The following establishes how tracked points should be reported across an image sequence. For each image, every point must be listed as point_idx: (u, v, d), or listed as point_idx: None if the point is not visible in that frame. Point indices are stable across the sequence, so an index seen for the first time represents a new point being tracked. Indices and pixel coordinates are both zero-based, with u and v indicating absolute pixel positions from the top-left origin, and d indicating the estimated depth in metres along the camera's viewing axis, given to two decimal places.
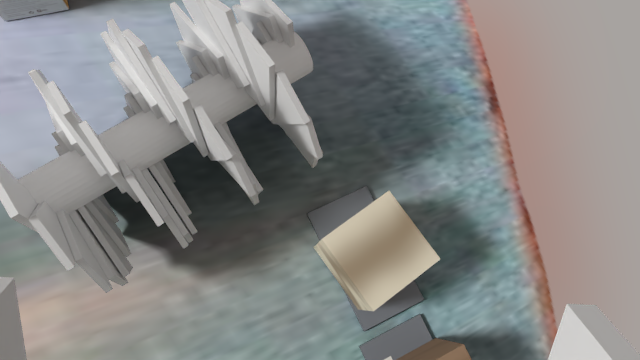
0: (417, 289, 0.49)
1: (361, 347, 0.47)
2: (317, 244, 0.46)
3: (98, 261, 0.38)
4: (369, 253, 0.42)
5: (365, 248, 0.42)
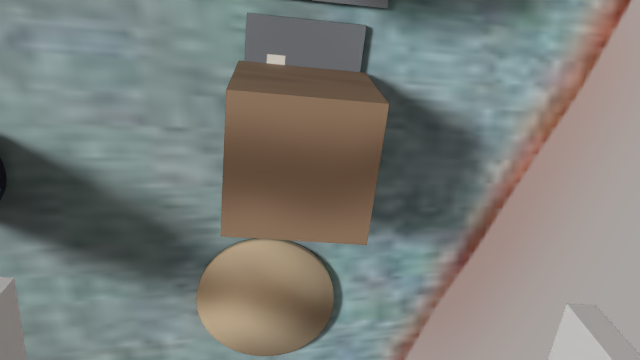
0: None
1: (249, 16, 0.27)
2: None
3: None
4: None
5: None
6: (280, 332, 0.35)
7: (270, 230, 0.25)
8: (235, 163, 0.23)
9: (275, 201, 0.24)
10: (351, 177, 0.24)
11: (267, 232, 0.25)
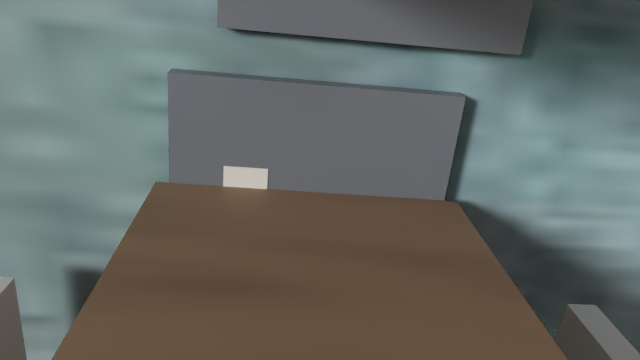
0: (525, 1, 0.11)
1: (173, 80, 0.11)
2: None
3: None
4: None
5: None
6: None
7: None
8: None
9: None
10: None
11: None
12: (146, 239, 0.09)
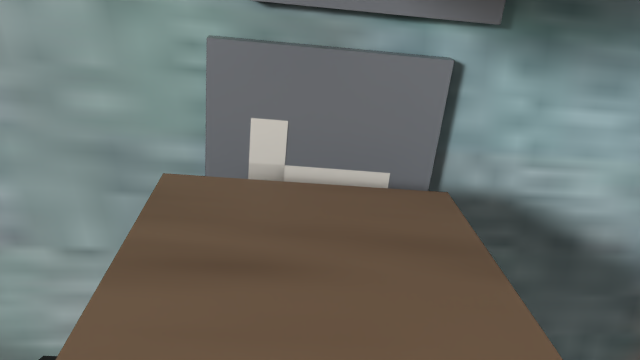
0: None
1: (211, 44, 0.13)
2: None
3: None
4: None
5: None
6: None
7: None
8: None
9: None
10: None
11: None
12: (156, 224, 0.10)
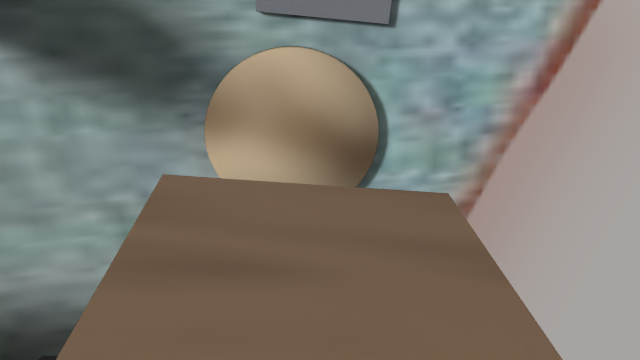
0: None
1: None
2: None
3: None
4: None
5: None
6: (310, 180, 0.28)
7: None
8: None
9: None
10: None
11: None
12: (155, 226, 0.10)
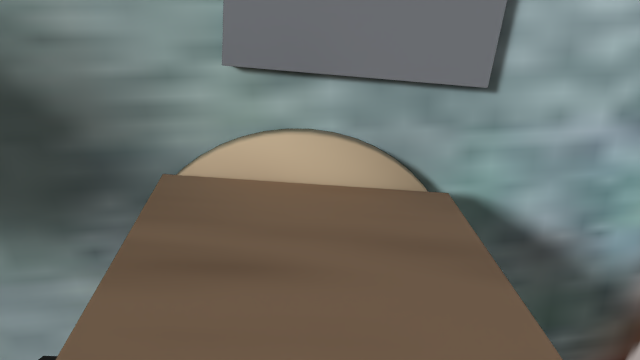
0: None
1: None
2: None
3: None
4: None
5: None
6: None
7: None
8: None
9: None
10: None
11: None
12: (155, 225, 0.10)
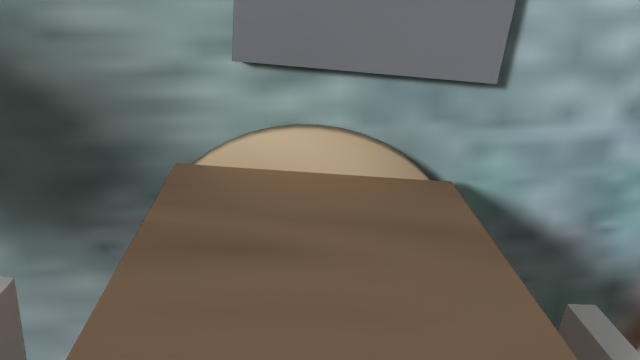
0: None
1: None
2: None
3: None
4: None
5: None
6: None
7: None
8: None
9: None
10: None
11: None
12: (170, 210, 0.11)
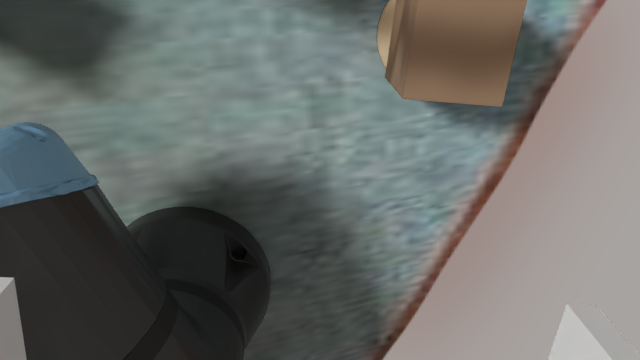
0: None
1: None
2: None
3: None
4: None
5: None
6: None
7: (437, 94, 0.35)
8: (419, 44, 0.34)
9: (443, 72, 0.35)
10: (496, 54, 0.34)
11: (435, 96, 0.35)
12: None
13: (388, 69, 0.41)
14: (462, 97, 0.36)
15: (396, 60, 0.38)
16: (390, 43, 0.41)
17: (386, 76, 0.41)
